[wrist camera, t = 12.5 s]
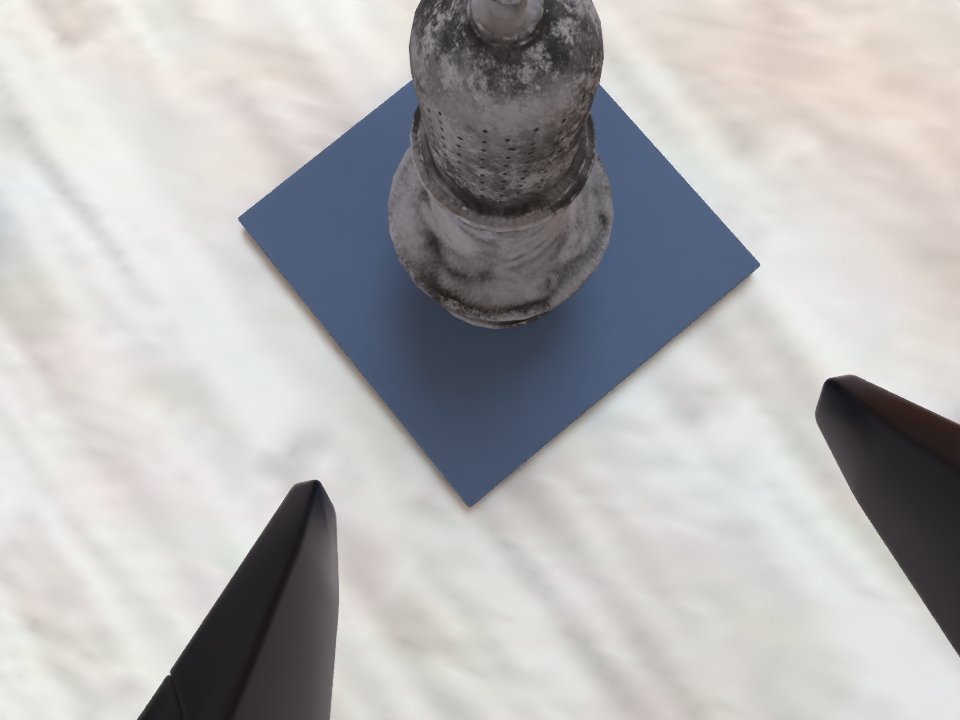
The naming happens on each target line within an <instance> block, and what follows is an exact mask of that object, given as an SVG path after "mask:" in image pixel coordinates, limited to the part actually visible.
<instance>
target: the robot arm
mask: <svg viewBox="0 0 960 720" xmlns="http://www.w3.org/2000/svg"><path fill="white" fill-rule="evenodd" d="M815 417H816V421H817V424H818V427H819V428H820V430H821V432H822V434H823V436H824V438H825V440H826V442H827V444H828V446H829V448H830V450H831V452H832V454H833V456H834V458H835V460H836V462H837V464H838V466H839V468H840V470H841V472H842V473H843V475H844V477H845V479H846V481H847V483H848V485H849V487H850V489H851V491H852V493H853V494H854V496H855V498H856V500H857V501H858V503H859V505H860V506H861V508H862V509H863V511H864V512H865V514H866V516H867V517H868V519H869V520H870V522H871V523H872V525H873V526H874V528H875V529H876V531H877V532H878V534H879V535H880V537H881V538H882V540H883V541H884V543H885V544H886V546H887V547H888V549H889V550H890V552H891V553H892V555H893V556H894V558H895V560H896V561H897V563H898V564H899V566H900V567H901V569H902V570H903V572H904V573H905V575H906V576H907V578H908V579H909V581H910V582H911V584H912V585H913V587H914V588H915V590H916V591H917V593H918V594H919V596H920V597H921V599H922V600H923V602H924V604H925V605H926V607H927V608H928V610H929V611H930V613H931V614H932V616H933V617H934V619H935V620H936V622H937V623H938V625H939V626H940V628H941V629H942V631H943V632H944V634H945V635H946V637H947V638H948V640H949V641H950V643H951V644H952V646H953V648H954V649H955V651H956V652H957V654H958V655H959V657H960V425H959V424H957V423H955V422H953V421H951V420H949V419H947V418H945V417H942V416H940V415H938V414H936V413H934V412H932V411H930V410H928V409H925V408H923V407H921V406H919V405H917V404H915V403H913V402H911V401H908V400H906V399H904V398H902V397H900V396H898V395H896V394H893V393H891V392H889V391H887V390H885V389H883V388H881V387H879V386H876V385H874V384H872V383H870V382H868V381H866V380H864V379H862V378H859V377H857V376H855V375H843V376H838V377H833V378H829V379H827V380H826V381H825V382H824V384H823V388H822V391H821V394H820V397H819V401H818V404H817V407H816V411H815ZM338 608H339V580H338V552H337V524H336V513H335V509H334V506H333V504H332V502H331V501H330V499H329V497H328V495H327V493H326V491H325V489H324V487H323V486H322V484H321V483H320V481H318V480H310V481H305V482H300V483H297V484H295V485H294V486H293V487H292V488H291V490H290V491H289V493H288V494H287V496H286V497H285V499H284V500H283V502H282V503H281V505H280V506H279V508H278V509H277V511H276V512H275V514H274V515H273V517H272V518H271V520H270V521H269V523H268V524H267V526H266V527H265V529H264V530H263V532H262V533H261V535H260V536H259V538H258V539H257V541H256V542H255V544H254V545H253V547H252V548H251V550H250V551H249V553H248V554H247V556H246V558H245V559H244V561H243V562H242V564H241V565H240V567H239V568H238V570H237V571H236V573H235V574H234V576H233V577H232V579H231V580H230V582H229V583H228V585H227V586H226V588H225V589H224V591H223V592H222V594H221V595H220V597H219V598H218V600H217V601H216V603H215V604H214V606H213V607H212V609H211V610H210V612H209V613H208V615H207V616H206V618H205V619H204V621H203V622H202V624H201V625H200V627H199V628H198V630H197V631H196V633H195V634H194V636H193V637H192V639H191V640H190V642H189V643H188V645H187V646H186V648H185V649H184V651H183V652H182V654H181V655H180V657H179V658H178V660H177V661H176V663H175V664H174V666H173V667H172V669H171V670H170V674H171V675H168V676H166V678H165V679H164V681H163V682H162V684H161V685H160V687H159V688H158V690H157V691H156V693H155V694H154V696H153V697H152V699H151V700H150V701H149V703H148V704H147V706H146V707H145V709H144V710H143V712H142V713H141V714H140V716H139V717H138V719H137V720H330V710H331V698H332V685H333V673H334V660H335V648H336V635H337V623H338Z"/></svg>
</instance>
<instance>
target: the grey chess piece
mask: <svg viewBox="0 0 960 720" xmlns="http://www.w3.org/2000/svg"><path fill="white" fill-rule="evenodd" d="M409 54H410V66H411V74H412V78H413V82H414V86H415V91H416V95H417V99H418V103H419V104H418V106H417V108H416V110H415V112H414V116H413V121H412V127H411V132H410V145H411V146H410V147H409V148H408V149H407V150H406V152H405V154H404V156H403V158H402V160H401V162H400V164H399V166H398V168H397V170H396V172H395V174H394V176H393V181H392V186H391V190H390V195H389V200H388V217H389V233H390V236H391V239H392V242H393V244H394V247H395V250H396V253H397V256H398V259H399V261H400V263H401V264H402V265H403V267H404V268H405V270H406V271H407V273H408V274H409V276H410V277H411V279H412V280H413V281H414V283H415V284H416V285H417V286H418V287H419V288H420V289H421V290H422V291H424V292H425V293H426V294H427V295H428V296H429V297H431V298H432V299H433V300H434V301H435V302H437V303H438V304H439V305H441V306H442V307H443V308H445V309H446V310H447V311H448V312H449V313H451V314H452V315H453V316H454V317H457V318H459V319H461V320H463V321H465V322H467V323H469V324H471V325H474V326H480V327H485V328H491V329H504V328H516V327H519V326H522V325H525V324H528V323H530V322H533V321H536V320H538V319H539V318H541V317H542V316H544V315H545V314H547V313H548V312H550V311H551V310H552V309H554V308H555V307H557V306H558V305H560V304H561V303H563V302H564V301H565V300H567V299H568V298H570V297H571V296H573V295H574V294H576V293H577V292H578V291H579V290H580V288H581V287H582V286H583V285H584V284H585V283H586V281H587V280H588V279H589V278H590V277H591V275H592V274H593V273H594V272H595V271H596V270H597V267H598V265H599V263H600V261H601V259H602V257H603V255H604V253H605V250H606V248H607V246H608V244H609V240H610V234H611V228H612V222H613V217H614V211H613V201H612V191H611V184H610V182H609V179H608V177H607V174H606V171H605V169H604V166H603V164H602V161H601V159H600V157H599V156H598V155H597V153H596V152H595V151H596V136H595V127H594V121H593V118H592V116H591V113H590V110H591V107H592V104H593V101H594V98H595V94H596V91H597V88H598V85H599V82H600V77H601V71H602V65H603V59H604V53H603V39H602V31H601V22H600V19H599V17H598V14H597V12H596V9H595V7H594V5H593V2H592V0H421V1H420V3H419V5H418V7H417V9H416V11H415V15H414V20H413V25H412V30H411V35H410V43H409Z"/></svg>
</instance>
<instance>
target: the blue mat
mask: <svg viewBox="0 0 960 720" xmlns="http://www.w3.org/2000/svg"><path fill="white" fill-rule="evenodd" d="M418 104H419V103H418V99H417V95H416V91H415V86H414V82H413V80H412V81H410V82H409V83H408V84H407V85H405V86H404V87H403V88H401V89H400V90H399V91H398V92H396V93H395V94H394V95H393V96H391V97H390V98H389V99H388V100H386V101H385V102H384V103H383V104H381V105H380V106H379V107H378V108H376V109H375V110H374V111H372V112H371V113H370V114H369V115H367V116H366V117H365V118H364V119H362V120H361V121H360V122H359V123H357V124H356V125H355V126H354V127H352V128H351V129H350V130H348V131H347V132H346V133H345V134H343V135H342V136H341V137H340V138H338V139H337V140H336V141H335V142H333V143H332V144H331V145H330V146H328V147H327V148H326V149H324V150H323V151H322V152H321V153H319V154H318V155H317V156H316V157H314V158H313V159H312V160H311V161H309V162H308V163H307V164H306V165H304V166H303V167H302V168H300V169H299V170H298V171H297V172H295V173H294V174H293V175H292V176H290V177H289V178H288V179H287V180H285V181H284V182H283V183H282V184H280V185H279V186H278V187H276V188H275V189H274V190H273V191H271V192H270V193H269V194H268V195H266V196H265V197H264V198H263V199H261V200H260V201H259V202H258V203H256V204H255V205H254V206H253V207H251V208H250V209H249V210H247V211H246V212H245V213H244V214H242V215H241V216H240V217H239V218H238V219H239V221H240V222H241V224H242V225H243V226H244V227H245V229H246V230H247V231H248V232H249V234H250V235H251V236H252V237H253V239H254V240H255V241H256V242H257V244H258V245H259V246H260V247H261V249H262V250H263V251H264V252H265V254H266V255H267V256H268V257H269V259H270V260H271V261H272V262H273V264H274V265H275V266H276V267H277V269H278V270H279V271H280V272H281V274H282V275H283V276H284V277H285V279H286V280H287V281H288V282H289V284H290V285H291V286H292V287H293V289H294V290H295V291H296V292H297V293H298V295H299V296H300V297H301V298H302V300H303V301H304V302H305V303H306V305H307V306H308V307H309V308H310V310H311V311H312V312H313V313H314V315H315V316H316V317H317V318H318V320H319V321H320V322H321V323H322V325H323V326H324V327H325V328H326V330H327V331H328V332H329V333H330V335H331V336H332V337H333V338H334V340H335V341H336V342H337V343H338V345H339V346H340V347H341V348H342V350H343V351H344V352H345V353H346V355H347V356H348V357H349V358H350V360H351V361H352V362H353V363H354V365H355V366H356V367H357V368H358V370H359V371H360V372H361V373H362V375H363V376H364V377H365V378H366V380H367V381H368V382H369V383H370V385H371V386H372V387H373V388H374V390H375V391H376V392H377V393H378V395H379V396H380V397H381V398H382V400H383V401H384V402H385V403H386V404H387V406H388V407H389V408H390V409H391V411H392V412H393V413H394V414H395V416H396V417H397V418H398V419H399V421H400V422H401V423H402V424H403V426H404V427H405V428H406V429H407V431H408V432H409V433H410V434H411V436H412V437H413V438H414V439H415V441H416V442H417V443H418V444H419V446H420V447H421V448H422V449H423V451H424V452H425V453H426V454H427V456H428V457H429V458H430V459H431V461H432V462H433V463H434V464H435V466H436V467H437V468H438V469H439V471H440V472H441V473H442V474H443V476H444V477H445V478H446V479H447V481H448V482H449V483H450V484H451V486H452V487H453V488H454V489H455V491H456V492H457V493H458V494H459V496H460V497H461V498H462V499H463V501H464V502H465V503H466V504H467V506H469V507H471V506H472V505H474V504H475V503H476V502H477V501H478V500H480V499H481V498H482V497H483V496H484V495H486V494H487V493H488V492H489V491H490V490H492V489H493V488H494V487H495V486H496V485H498V484H499V483H500V482H501V481H502V480H504V479H505V478H506V477H507V476H508V475H510V474H511V473H512V472H513V471H514V470H516V469H517V468H518V467H519V466H520V465H522V464H523V463H524V462H525V461H526V460H528V459H529V458H530V457H531V456H532V455H534V454H535V453H536V452H537V451H538V450H540V449H541V448H542V447H543V446H544V445H546V444H547V443H548V442H549V441H550V440H552V439H553V438H554V437H555V436H556V435H558V434H559V433H560V432H561V431H563V430H564V429H565V428H566V427H567V426H569V425H570V424H571V423H572V422H573V421H575V420H576V419H577V418H578V417H579V416H581V415H582V414H583V413H584V412H585V411H587V410H588V409H589V408H590V407H591V406H593V405H594V404H595V403H596V402H597V401H599V400H600V399H601V398H602V397H603V396H605V395H606V394H607V393H608V392H609V391H611V390H612V389H613V388H614V387H615V386H617V385H618V384H619V383H620V382H621V381H623V380H624V379H625V378H626V377H627V376H629V375H630V374H631V373H632V372H633V371H635V370H636V369H637V368H638V367H639V366H641V365H642V364H643V363H644V362H645V361H647V360H648V359H649V358H650V357H651V356H653V355H654V354H655V353H656V352H657V351H659V350H660V349H661V348H662V347H663V346H665V345H666V344H667V343H668V342H669V341H671V340H672V339H673V338H674V337H675V336H677V335H678V334H679V333H680V332H681V331H683V330H684V329H685V328H686V327H687V326H689V325H690V324H691V323H692V322H693V321H695V320H696V319H697V318H698V317H699V316H701V315H702V314H703V313H704V312H705V311H707V310H708V309H709V308H710V307H711V306H713V305H714V304H715V303H716V302H717V301H719V300H720V299H721V298H722V297H723V296H725V295H726V294H727V293H728V292H729V291H731V290H732V289H733V288H734V287H735V286H737V285H738V284H739V283H740V282H741V281H743V280H744V279H745V278H746V277H747V276H749V275H750V274H751V273H752V272H753V271H755V270H756V269H757V268H758V267H759V266H760V263H759V262H758V261H757V260H756V259H755V258H754V257H753V256H752V254H751V253H750V252H749V251H748V250H747V249H746V248H745V247H744V245H743V244H742V243H741V242H740V241H739V240H738V239H737V238H736V236H735V235H734V234H733V233H732V232H731V231H730V230H729V229H728V228H727V226H726V225H725V224H724V223H723V222H722V221H721V220H720V219H719V217H718V216H717V215H716V214H715V213H714V212H713V211H712V210H711V209H710V207H709V206H708V205H707V204H706V203H705V202H704V201H703V200H702V198H701V197H700V196H699V195H698V194H697V193H696V192H695V191H694V190H693V188H692V187H691V186H690V185H689V184H688V183H687V182H686V181H685V179H684V178H683V177H682V176H681V175H680V174H679V173H678V172H677V171H676V169H675V168H674V167H673V166H672V165H671V164H670V163H669V162H668V160H667V159H666V158H665V157H664V156H663V155H662V154H661V153H660V151H659V150H658V149H657V148H656V147H655V146H654V145H653V144H652V143H651V141H650V140H649V139H648V138H647V137H646V136H645V135H644V134H643V132H642V131H641V130H640V129H639V128H638V127H637V126H636V125H635V124H634V122H633V121H632V120H631V119H630V118H629V117H628V116H627V115H626V113H625V112H624V111H623V110H622V109H621V108H620V107H619V106H618V105H617V103H616V102H615V101H614V100H613V99H612V98H611V97H610V96H609V94H608V93H607V92H606V91H605V90H604V89H603V88H602V87H601V86H600V84H599V85H598V88H597V91H596V94H595V98H594V101H593V104H592V107H591V110H590V113H591V116H592V118H593V121H594V127H595V136H596V151H595V152H596V153H597V155H598V156H599V157H600V159H601V161H602V164H603V166H604V169H605V171H606V174H607V177H608V179H609V182H610V184H611V191H612V201H613V211H614V217H613V222H612V228H611V234H610V240H609V244H608V246H607V248H606V250H605V253H604V255H603V257H602V259H601V261H600V263H599V265H598V267H597V270H596V271H595V272H594V273H593V274H592V275H591V277H590V278H589V279H588V280H587V281H586V283H585V284H584V285H583V286H582V287H581V288H580V290H579V291H578V292H577V293H576V294H574V295H573V296H571V297H570V298H568V299H567V300H565V301H564V302H563V303H561V304H560V305H558V306H557V307H555V308H554V309H552V310H551V311H550V312H548V313H547V314H545V315H544V316H542V317H541V318H539V319H538V320H536V321H533V322H530V323H528V324H525V325H522V326H519V327H516V328H504V329H491V328H485V327H480V326H474V325H471V324H469V323H467V322H465V321H463V320H461V319H459V318H457V317H454V316H453V315H452V314H451V313H449V312H448V311H447V310H446V309H445V308H443V307H442V306H441V305H439V304H438V303H437V302H435V301H434V300H433V299H432V298H431V297H429V296H428V295H427V294H426V293H425V292H424V291H422V290H421V289H420V288H419V287H418V286H417V285H416V284H415V283H414V281H413V280H412V279H411V277H410V276H409V274H408V273H407V271H406V270H405V268H404V267H403V265H402V264H401V263H400V261H399V259H398V256H397V253H396V250H395V247H394V244H393V242H392V239H391V236H390V233H389V217H388V200H389V195H390V190H391V186H392V181H393V176H394V174H395V172H396V170H397V168H398V166H399V164H400V162H401V160H402V158H403V156H404V154H405V152H406V150H407V149H408V148H409V147H410V146H411V145H410V132H411V127H412V121H413V116H414V112H415V110H416V108H417V106H418Z"/></svg>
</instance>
